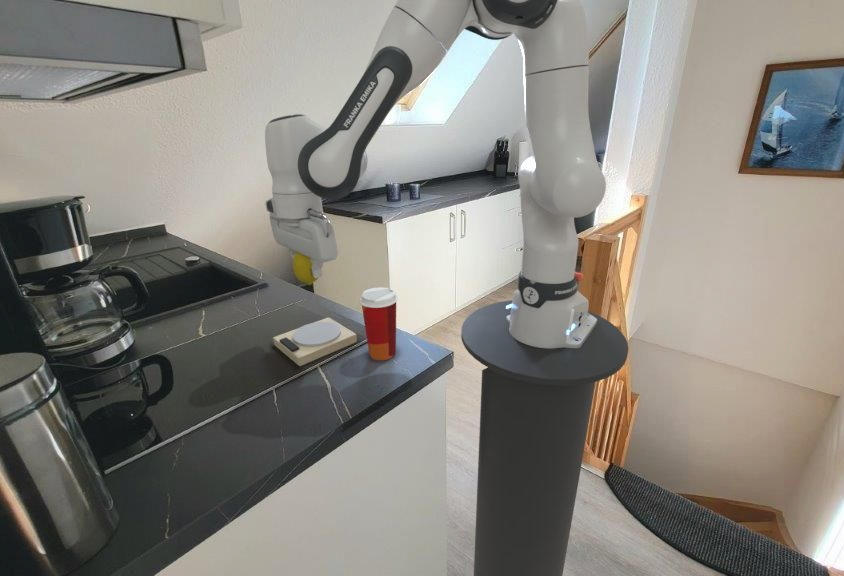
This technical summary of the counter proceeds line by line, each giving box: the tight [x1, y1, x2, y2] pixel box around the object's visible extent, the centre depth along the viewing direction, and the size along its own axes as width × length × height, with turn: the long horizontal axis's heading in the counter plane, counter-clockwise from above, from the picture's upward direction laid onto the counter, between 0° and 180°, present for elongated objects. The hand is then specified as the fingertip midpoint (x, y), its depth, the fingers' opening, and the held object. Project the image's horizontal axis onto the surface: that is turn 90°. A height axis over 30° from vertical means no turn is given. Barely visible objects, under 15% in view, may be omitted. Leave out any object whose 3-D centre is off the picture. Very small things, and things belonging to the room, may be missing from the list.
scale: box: [272, 316, 358, 367], centre depth 90 cm, size 14×12×3 cm
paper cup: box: [359, 286, 399, 361], centre depth 84 cm, size 8×8×14 cm
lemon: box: [292, 253, 319, 286], centre depth 83 cm, size 6×6×8 cm
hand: (308, 272), depth 84 cm, fingers closed on lemon, 5 cm apart
